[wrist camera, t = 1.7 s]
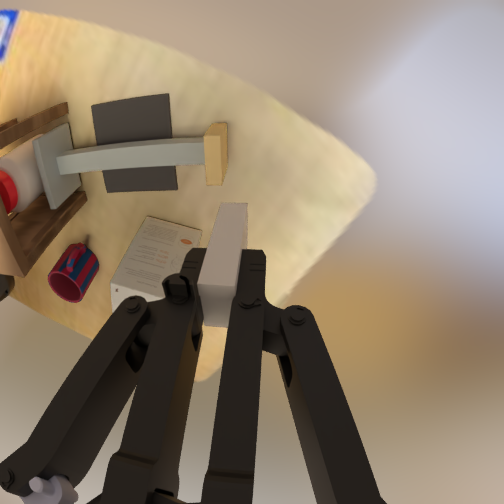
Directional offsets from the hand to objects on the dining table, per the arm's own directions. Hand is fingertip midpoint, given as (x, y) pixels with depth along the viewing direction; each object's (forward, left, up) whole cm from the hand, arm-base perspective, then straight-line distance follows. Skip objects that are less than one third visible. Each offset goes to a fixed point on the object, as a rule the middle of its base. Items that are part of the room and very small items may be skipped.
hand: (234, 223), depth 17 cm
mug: (-27, -17, -18) cm, 36 cm away
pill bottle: (-29, 0, -18) cm, 34 cm away
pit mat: (-14, 0, -17) cm, 22 cm away
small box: (-11, -14, -18) cm, 25 cm away
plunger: (-13, 0, -17) cm, 21 cm away
